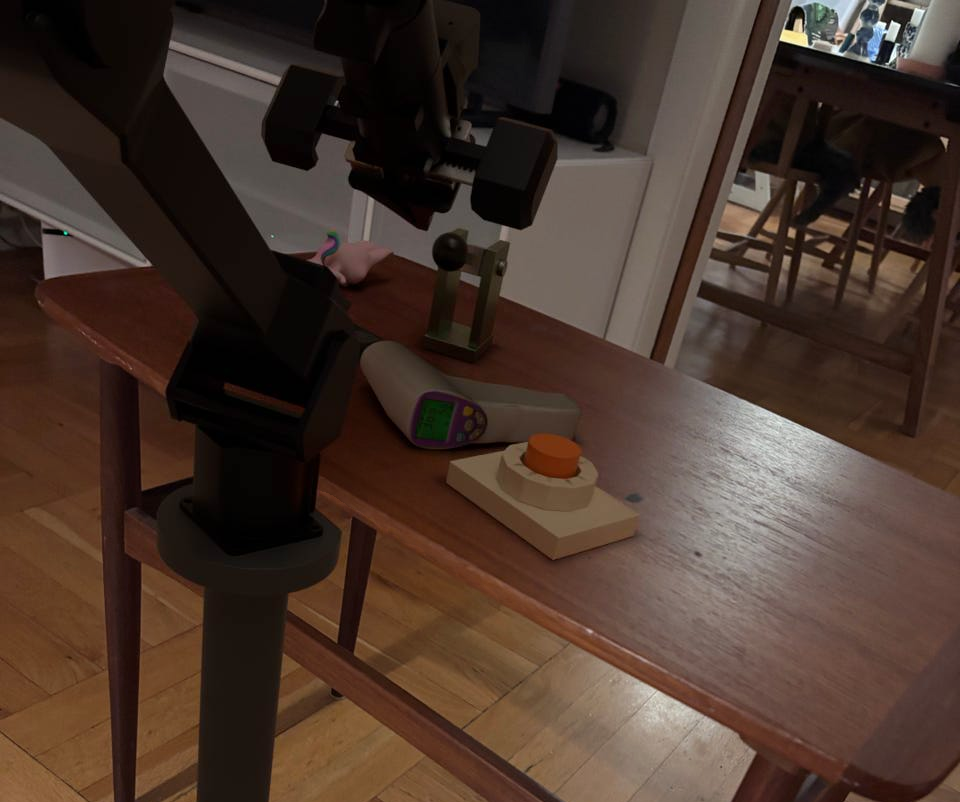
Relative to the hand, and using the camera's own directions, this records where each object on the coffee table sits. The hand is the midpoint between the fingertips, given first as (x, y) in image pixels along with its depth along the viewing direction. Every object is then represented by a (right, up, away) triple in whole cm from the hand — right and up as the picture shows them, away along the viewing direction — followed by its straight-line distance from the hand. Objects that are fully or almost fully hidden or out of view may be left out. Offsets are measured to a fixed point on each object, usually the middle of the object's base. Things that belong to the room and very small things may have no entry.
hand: (424, 224), depth 72 cm
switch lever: (+2, +1, +12) cm, 13 cm away
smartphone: (-11, -2, +17) cm, 20 cm away
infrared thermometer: (+3, -13, +7) cm, 15 cm away
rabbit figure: (-11, +6, +28) cm, 31 cm away
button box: (+8, -21, -4) cm, 23 cm away
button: (+9, -19, -6) cm, 22 cm away
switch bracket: (+2, -3, +20) cm, 20 cm away
